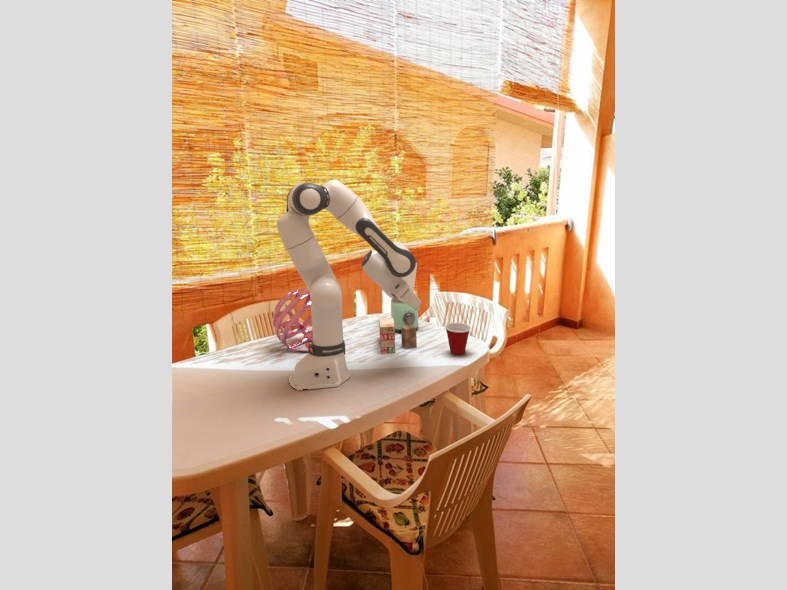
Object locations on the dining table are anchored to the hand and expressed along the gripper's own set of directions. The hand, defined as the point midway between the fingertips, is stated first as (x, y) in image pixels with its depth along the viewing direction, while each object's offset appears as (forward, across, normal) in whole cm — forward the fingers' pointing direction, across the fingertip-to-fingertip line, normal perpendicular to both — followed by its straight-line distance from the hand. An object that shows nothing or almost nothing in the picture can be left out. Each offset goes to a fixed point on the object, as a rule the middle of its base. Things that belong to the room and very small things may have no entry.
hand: (418, 309), depth 192 cm
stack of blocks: (+12, -25, -19) cm, 33 cm away
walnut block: (+17, -19, -13) cm, 29 cm away
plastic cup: (+28, -3, -1) cm, 29 cm away
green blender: (+21, -44, -8) cm, 49 cm away
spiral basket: (-12, -38, -44) cm, 59 cm away
